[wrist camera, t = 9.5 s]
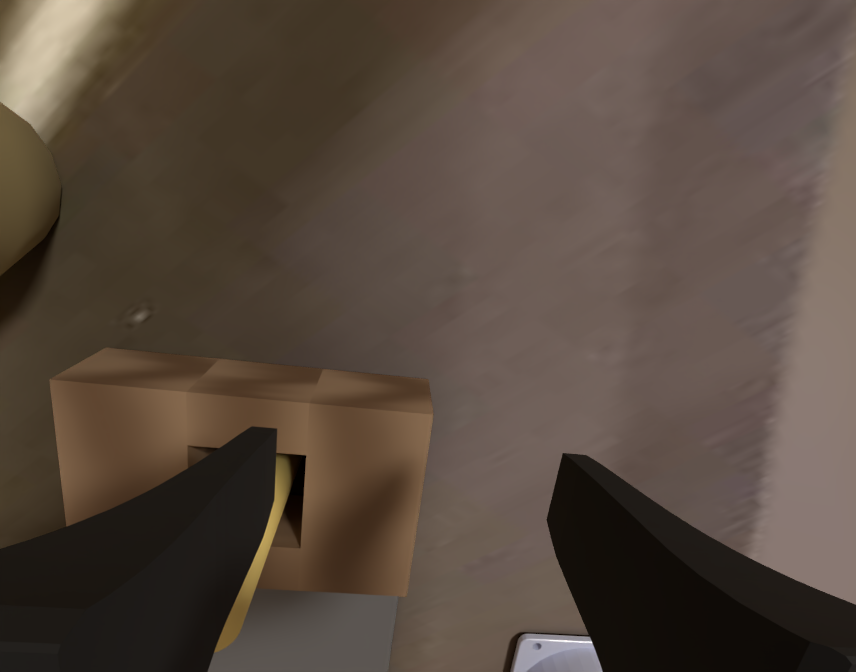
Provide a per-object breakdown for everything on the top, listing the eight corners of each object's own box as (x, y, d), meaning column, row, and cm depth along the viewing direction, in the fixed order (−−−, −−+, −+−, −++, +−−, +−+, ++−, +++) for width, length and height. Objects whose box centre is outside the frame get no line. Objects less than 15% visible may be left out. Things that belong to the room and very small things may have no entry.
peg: (302, 427, 22) (242, 576, 14) (300, 483, 23) (243, 657, 15) (235, 424, 22) (132, 573, 14) (237, 480, 23) (141, 655, 14)
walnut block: (428, 379, 22) (433, 414, 19) (405, 540, 25) (406, 596, 21) (105, 347, 21) (49, 379, 17) (118, 521, 23) (72, 578, 20)
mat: (402, 564, 25) (402, 568, 25) (382, 701, 28) (382, 707, 28) (204, 551, 24) (202, 556, 24) (206, 695, 27) (203, 701, 27)
